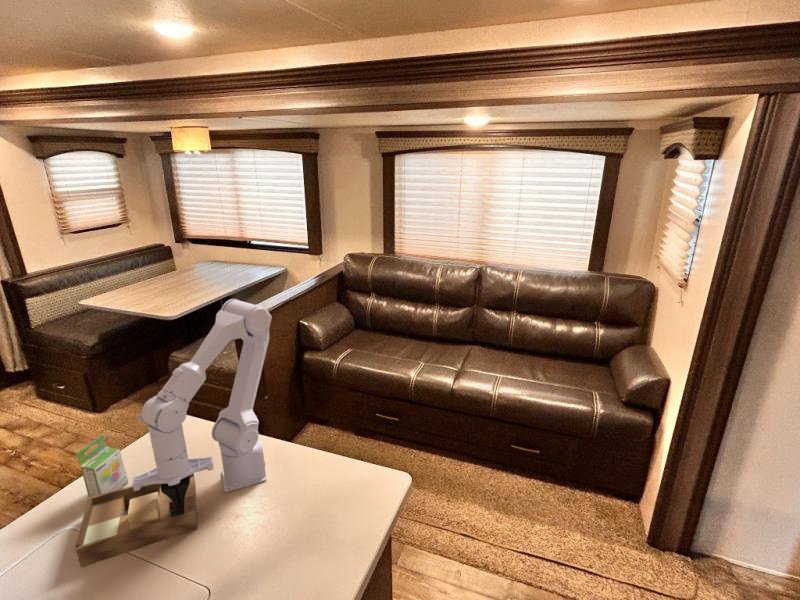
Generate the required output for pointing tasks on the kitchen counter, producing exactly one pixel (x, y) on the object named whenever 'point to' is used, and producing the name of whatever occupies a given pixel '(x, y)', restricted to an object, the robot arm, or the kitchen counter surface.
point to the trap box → (110, 527)
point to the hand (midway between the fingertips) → (180, 504)
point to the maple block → (144, 510)
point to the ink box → (102, 468)
